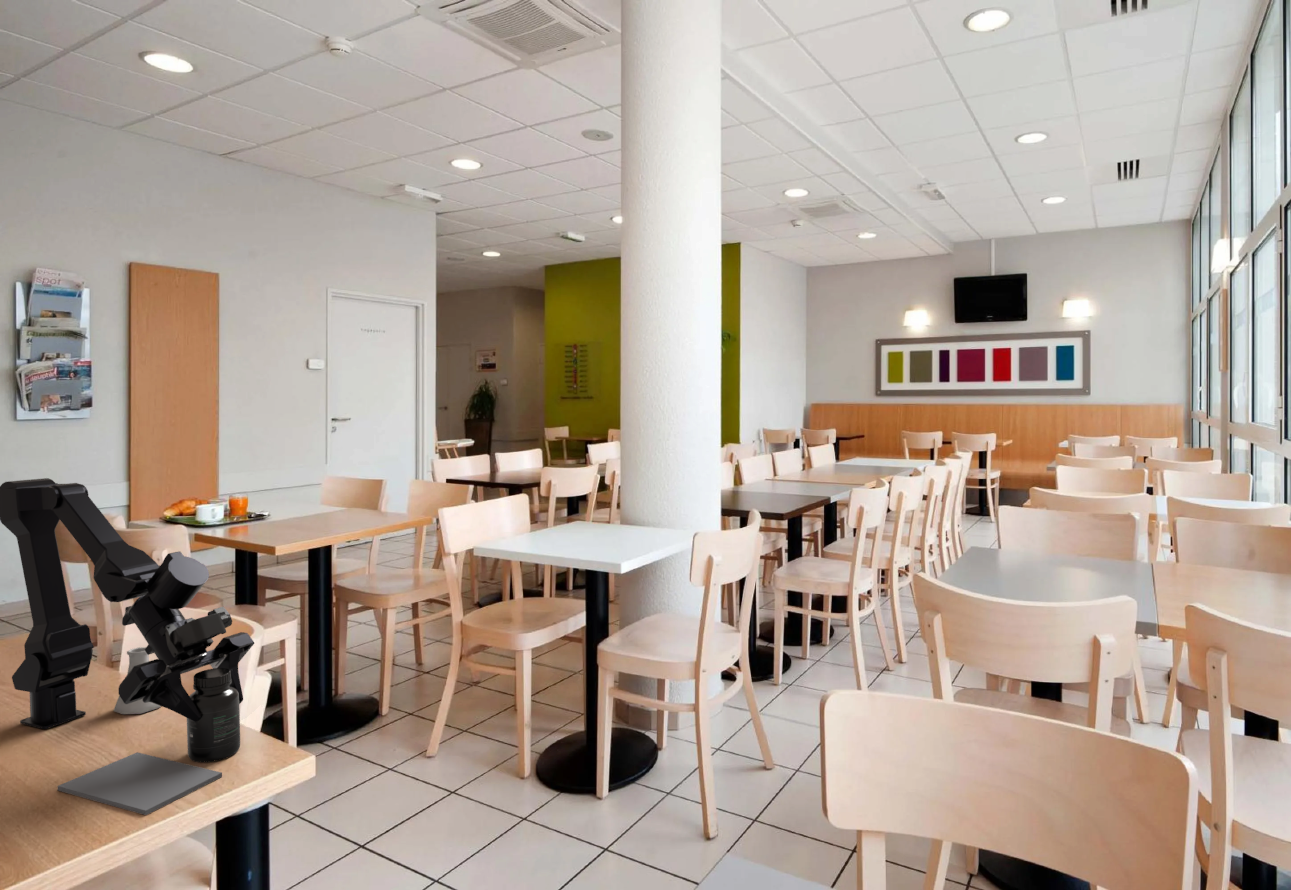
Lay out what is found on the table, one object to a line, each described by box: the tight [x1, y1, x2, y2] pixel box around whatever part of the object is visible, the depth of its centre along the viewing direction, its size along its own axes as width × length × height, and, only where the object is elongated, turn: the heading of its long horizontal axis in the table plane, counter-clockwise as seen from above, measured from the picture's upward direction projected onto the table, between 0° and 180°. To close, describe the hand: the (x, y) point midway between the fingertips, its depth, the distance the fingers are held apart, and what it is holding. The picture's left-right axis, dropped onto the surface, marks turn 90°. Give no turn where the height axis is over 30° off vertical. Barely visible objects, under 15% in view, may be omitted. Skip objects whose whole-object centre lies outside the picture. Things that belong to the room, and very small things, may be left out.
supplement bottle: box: [186, 668, 241, 763], centre depth 116 cm, size 7×7×12 cm
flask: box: [113, 646, 162, 715], centre depth 134 cm, size 7×7×10 cm
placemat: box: [56, 751, 223, 816], centre depth 107 cm, size 17×11×1 cm, turn 68°
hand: (220, 710), depth 116 cm, fingers closed on supplement bottle, 7 cm apart
